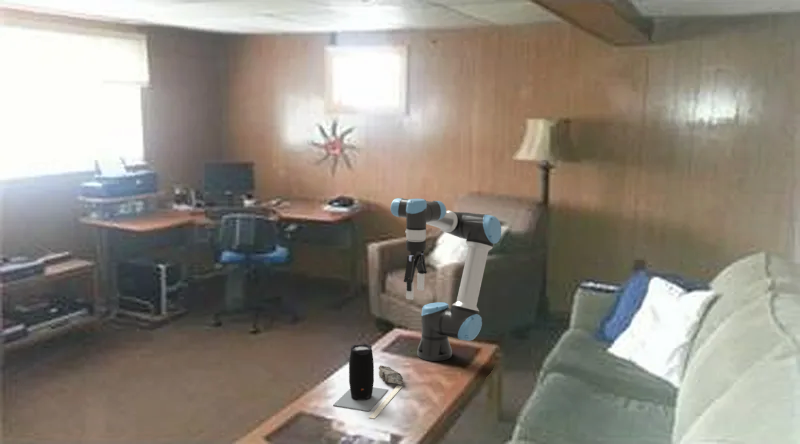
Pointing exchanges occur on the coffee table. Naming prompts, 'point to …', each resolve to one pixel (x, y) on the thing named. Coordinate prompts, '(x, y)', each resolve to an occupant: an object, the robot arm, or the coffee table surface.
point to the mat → (361, 400)
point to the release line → (385, 402)
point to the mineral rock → (390, 375)
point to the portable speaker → (361, 371)
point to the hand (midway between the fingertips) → (415, 294)
